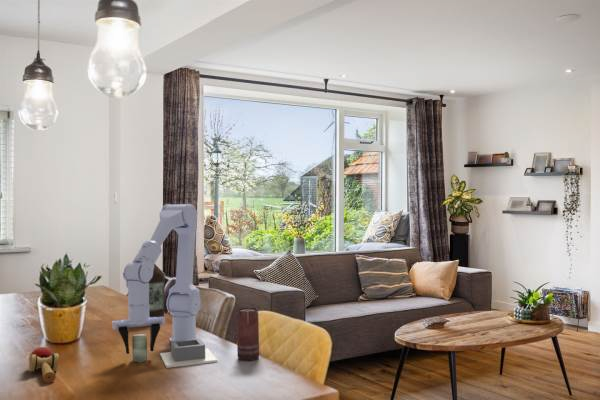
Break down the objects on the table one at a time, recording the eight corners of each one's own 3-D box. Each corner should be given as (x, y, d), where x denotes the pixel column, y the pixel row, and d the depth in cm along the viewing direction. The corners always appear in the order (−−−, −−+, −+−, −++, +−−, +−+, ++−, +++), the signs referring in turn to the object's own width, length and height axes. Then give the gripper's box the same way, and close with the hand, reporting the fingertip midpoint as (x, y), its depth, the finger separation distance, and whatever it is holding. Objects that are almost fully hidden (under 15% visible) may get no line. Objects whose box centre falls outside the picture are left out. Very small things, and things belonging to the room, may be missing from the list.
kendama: (68, 384, 153) (57, 359, 168) (64, 362, 152) (52, 338, 167) (36, 395, 149) (27, 368, 165) (31, 372, 148) (23, 347, 163)
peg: (132, 359, 171) (131, 334, 171) (146, 357, 172) (145, 333, 172) (133, 362, 167) (132, 337, 167) (147, 361, 168) (147, 336, 168)
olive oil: (132, 319, 227) (131, 253, 226) (159, 315, 233) (157, 251, 233) (143, 324, 218) (141, 255, 218) (170, 320, 224) (168, 253, 224)
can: (239, 362, 165) (238, 312, 165) (236, 356, 172) (235, 308, 171) (261, 360, 167) (260, 310, 167) (256, 354, 173) (255, 306, 173)
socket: (160, 355, 175) (159, 340, 175) (207, 350, 179) (207, 335, 179) (166, 367, 161) (166, 351, 161) (217, 362, 166) (216, 346, 166)
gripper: (112, 308, 163) (113, 358, 163) (166, 304, 168) (167, 352, 168) (111, 304, 170) (112, 351, 170) (163, 300, 175) (164, 346, 175)
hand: (139, 351), depth 170 cm, fingers open, 6 cm apart
